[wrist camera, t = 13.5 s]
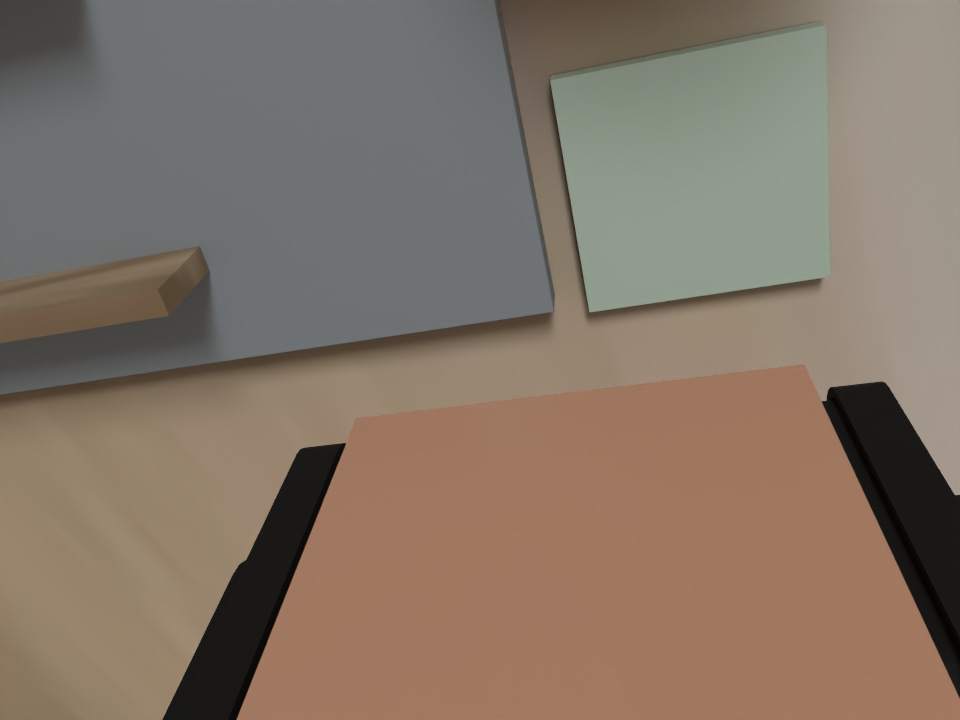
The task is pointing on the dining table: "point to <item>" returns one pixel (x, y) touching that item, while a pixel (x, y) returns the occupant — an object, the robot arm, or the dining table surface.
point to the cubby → (98, 294)
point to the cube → (602, 568)
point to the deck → (265, 172)
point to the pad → (699, 168)
